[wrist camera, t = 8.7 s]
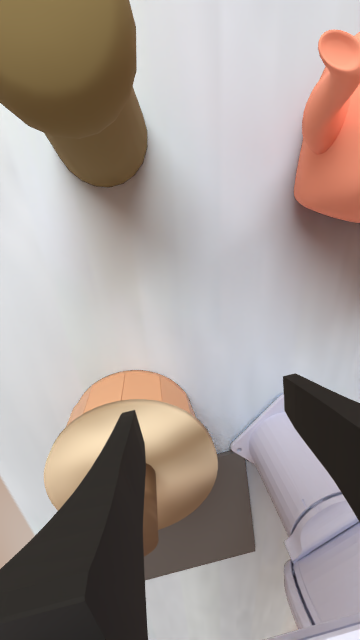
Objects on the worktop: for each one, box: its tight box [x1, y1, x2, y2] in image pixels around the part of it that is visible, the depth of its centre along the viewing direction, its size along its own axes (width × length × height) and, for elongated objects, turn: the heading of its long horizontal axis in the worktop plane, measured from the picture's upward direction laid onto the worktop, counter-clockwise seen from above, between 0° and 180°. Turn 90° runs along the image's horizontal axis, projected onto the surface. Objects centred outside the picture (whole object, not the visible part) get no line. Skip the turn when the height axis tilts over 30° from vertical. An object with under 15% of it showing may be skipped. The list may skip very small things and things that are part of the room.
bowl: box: [67, 370, 196, 426], centre depth 22 cm, size 11×11×4 cm
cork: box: [0, 0, 147, 187], centre depth 12 cm, size 6×6×11 cm
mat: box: [144, 451, 255, 580], centre depth 30 cm, size 16×17×1 cm
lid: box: [44, 399, 218, 556], centre depth 18 cm, size 13×13×5 cm
